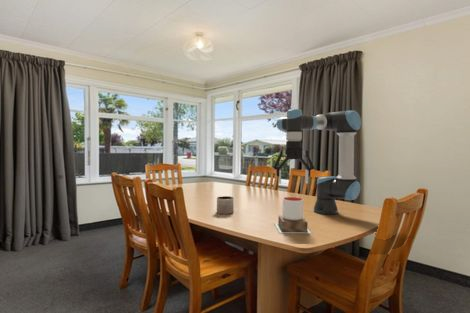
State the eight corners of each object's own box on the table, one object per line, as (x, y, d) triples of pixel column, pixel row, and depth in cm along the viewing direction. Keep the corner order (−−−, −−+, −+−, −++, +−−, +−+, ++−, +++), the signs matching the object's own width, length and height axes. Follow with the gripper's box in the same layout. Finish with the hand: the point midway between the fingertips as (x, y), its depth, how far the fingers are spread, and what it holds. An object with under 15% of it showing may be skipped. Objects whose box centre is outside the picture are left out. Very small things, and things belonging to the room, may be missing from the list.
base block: (301, 225, 144) (301, 215, 144) (307, 232, 132) (307, 222, 132) (278, 224, 144) (278, 215, 144) (282, 232, 132) (282, 221, 132)
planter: (213, 213, 173) (213, 198, 173) (221, 209, 183) (221, 195, 183) (229, 215, 169) (229, 199, 168) (236, 211, 179) (236, 196, 179)
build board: (303, 226, 146) (303, 223, 146) (312, 236, 130) (312, 233, 130) (273, 226, 146) (274, 223, 146) (278, 236, 130) (278, 233, 130)
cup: (280, 216, 142) (280, 197, 142) (299, 216, 143) (299, 197, 143) (285, 221, 132) (285, 201, 132) (305, 221, 133) (305, 200, 133)
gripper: (316, 141, 140) (315, 182, 141) (267, 140, 140) (267, 181, 141) (321, 140, 133) (320, 184, 134) (269, 140, 132) (269, 184, 133)
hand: (293, 183), depth 137 cm, fingers open, 13 cm apart
